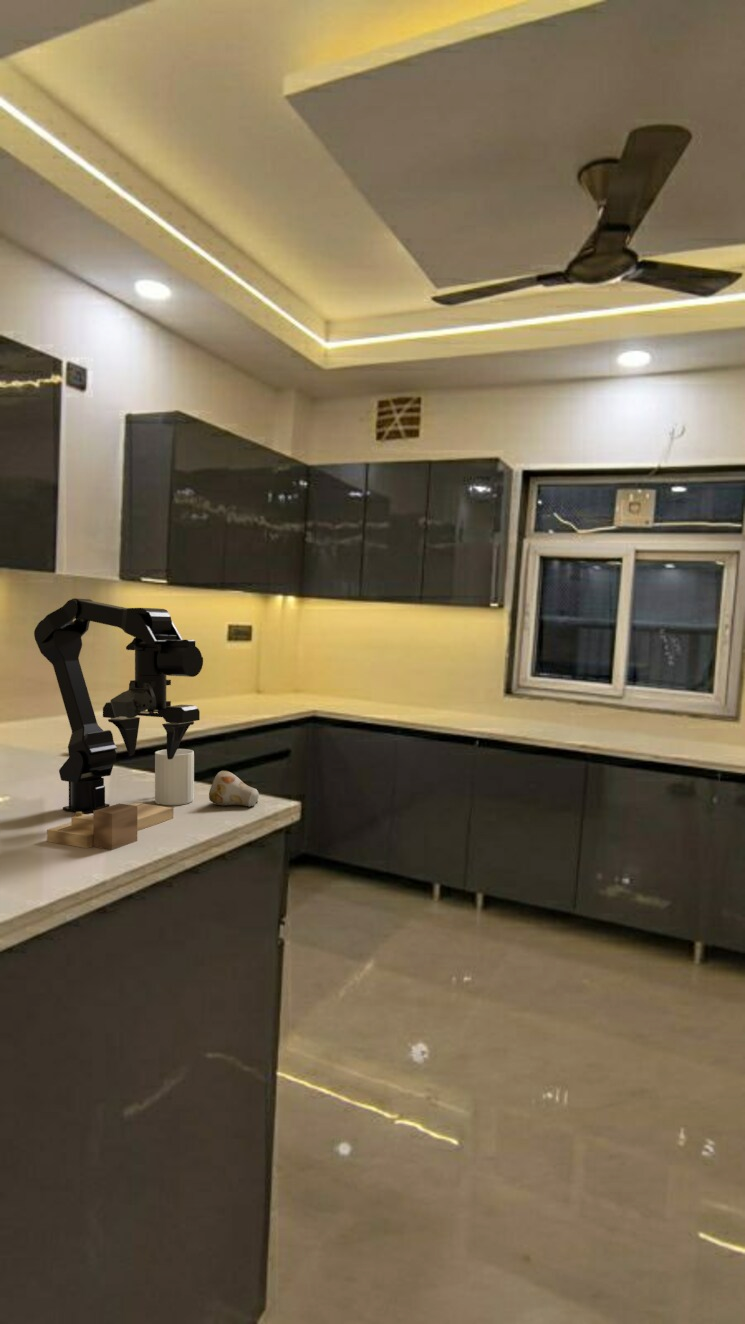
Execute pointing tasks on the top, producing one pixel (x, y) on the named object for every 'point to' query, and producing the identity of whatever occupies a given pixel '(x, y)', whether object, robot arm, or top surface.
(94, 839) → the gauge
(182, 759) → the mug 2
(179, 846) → the top surface
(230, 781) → the patterned white vase
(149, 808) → the board
